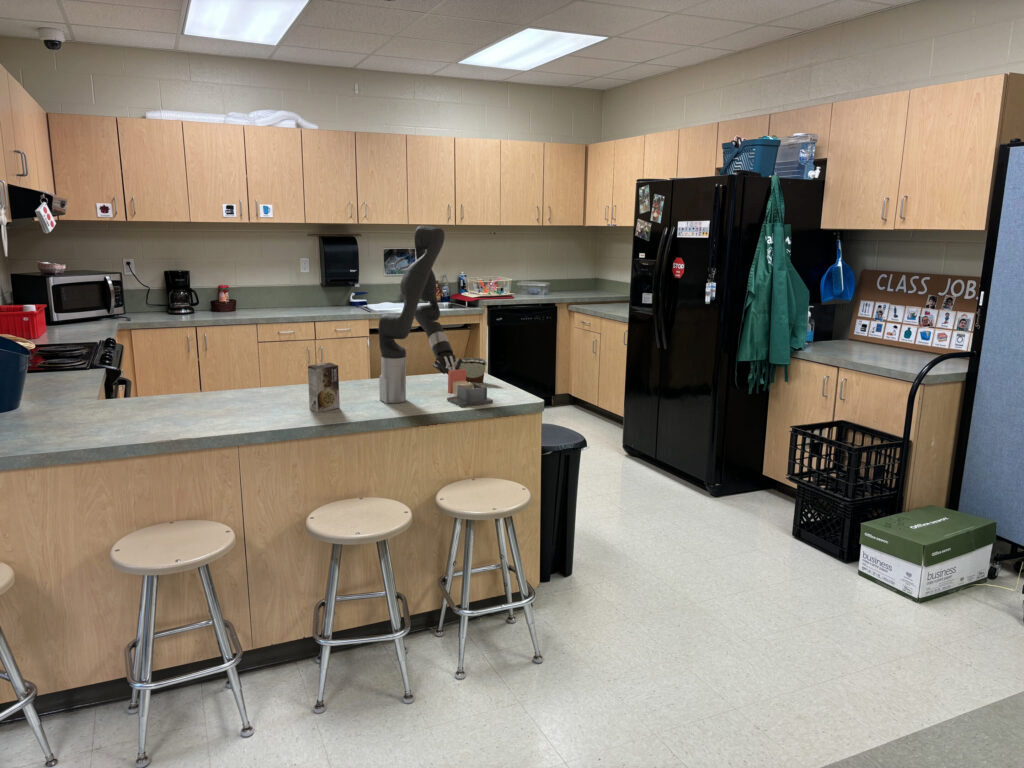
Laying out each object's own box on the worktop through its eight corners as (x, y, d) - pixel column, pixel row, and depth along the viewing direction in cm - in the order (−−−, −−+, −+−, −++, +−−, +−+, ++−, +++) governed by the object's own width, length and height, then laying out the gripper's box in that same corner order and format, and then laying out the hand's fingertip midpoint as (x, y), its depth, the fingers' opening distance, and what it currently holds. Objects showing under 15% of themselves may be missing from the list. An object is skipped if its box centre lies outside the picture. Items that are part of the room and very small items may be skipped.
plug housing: (461, 407, 265) (461, 390, 264) (447, 400, 274) (447, 384, 273) (492, 403, 273) (493, 386, 272) (477, 396, 282) (478, 380, 280)
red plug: (459, 397, 273) (459, 375, 271) (448, 392, 280) (448, 370, 278) (474, 395, 277) (475, 373, 275) (463, 390, 284) (463, 368, 282)
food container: (488, 380, 310) (488, 358, 307) (486, 383, 304) (486, 361, 301) (460, 379, 311) (460, 356, 308) (458, 382, 305) (458, 359, 303)
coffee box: (330, 404, 263) (329, 362, 259) (340, 408, 259) (339, 365, 255) (308, 408, 257) (307, 365, 253) (317, 412, 252) (316, 368, 249)
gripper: (429, 341, 282) (443, 377, 275) (457, 339, 289) (472, 374, 282) (422, 352, 288) (437, 387, 281) (451, 349, 295) (465, 384, 288)
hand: (455, 380), depth 281 cm, fingers closed
